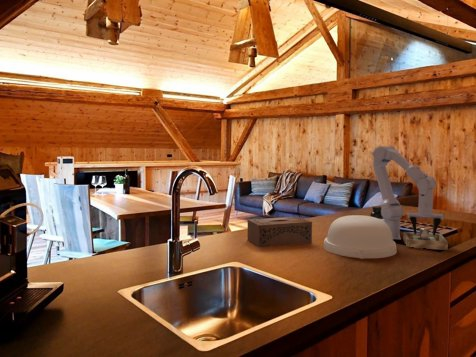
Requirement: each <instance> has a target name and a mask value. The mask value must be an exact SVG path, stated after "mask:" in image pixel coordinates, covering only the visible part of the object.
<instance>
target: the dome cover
mask: <svg viewBox="0 0 476 357" xmlns="http://www.w3.org/2000/svg"><path fill="white" fill-rule="evenodd" d="M396 244H397V243H396V242H395V241H394V239H393V237H392V232H391V230H390V228H389V226H388V225H387V224H386V223H385V222H384V221H382V220H380V219H378V218H375V217H370V216H369V215H359V214H355V215H354V214H353V215H352V214H351V215H344V216H340V217H338V218H336V219H335V220H334V221H333V222H332V223H331V224H330V225H329V228H328V231H327V236H326V237H325V238H324V240H323V249H324V250H325V251H327V252H329V253H331V254H335V255H337V256H342V257H348V258H355V259H356V258H357V259H362V260H363V259H382V258H390V257H393V256H395V255H396V254H397V252H398V251H397V245H396Z"/></svg>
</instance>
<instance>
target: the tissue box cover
mask: <svg viewBox="0 0 476 357" xmlns="http://www.w3.org/2000/svg"><path fill="white" fill-rule="evenodd" d="M312 238H313V221H311V220H309V219H305V218H302V217H300V216H283V217H269V218H268V217H267V218H266V217H265V218H251V219H247V241H248V242H250V243H251V244H253V245H254V246H255V247H257V248H268V247H279V246H280V247H282V246H292V245H306V244H312V242H313V239H312Z"/></svg>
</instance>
